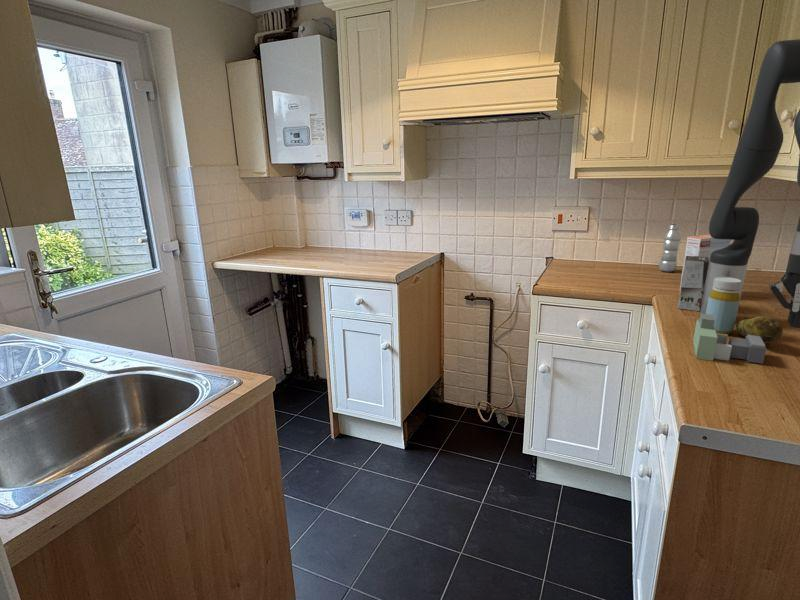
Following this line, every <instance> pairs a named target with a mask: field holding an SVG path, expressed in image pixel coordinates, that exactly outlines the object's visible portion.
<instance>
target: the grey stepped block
mask: <svg viewBox="0 0 800 600" xmlns="http://www.w3.org/2000/svg"><path fill="white" fill-rule="evenodd" d="M727 342H728V343H727V345H731V346H732V348H731V353H730V358H732V359H740V360H746V361H747V362H750V363H756V364H764V361H765V357H766V352H767V347H766V343H765V344H764V342H763V341H762V339H761V337H760V336H754V335H747V336H746V337H745V338H744V339H743V338H737V337H736V338H735V337H729V338H728V341H727Z"/></svg>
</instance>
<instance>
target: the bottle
mask: <svg viewBox="0 0 800 600" xmlns="http://www.w3.org/2000/svg"><path fill="white" fill-rule="evenodd" d="M740 286H741V280H739V279H736V278H730V277H715V279H714V283H713V290H712V291H711V293H710V295H709V299H708V305H707V310H706V314H711V315H713V317H714V320H715V322H714V328H715V331H716V333H719V334H727V335H728V336H729V335H731V334H733V332H734V330H735V329H734V328H735V326H736V325H735V324H736V321H737V317H736V315H737V316H738V312H737V311H739V308H738V306H739V307H740V303H739V301H741V298H740V295H739V291H740ZM735 320H736V321H735Z"/></svg>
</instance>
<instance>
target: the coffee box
mask: <svg viewBox="0 0 800 600" xmlns="http://www.w3.org/2000/svg"><path fill="white" fill-rule="evenodd" d="M708 266H709V259H708V257H700V256H686V259H685V265H684V271H683V277H682V283H681V282H680V283H681V289H680V288H679V290H680V294H679V298H678V303H677V308H678V309H680V310H681V309H682V310H686V311H688V310H689V311H693V312H694V311H696V312H700V311H701V305H702V300H703V292H704V287H705V282H706V276H707V271H708Z"/></svg>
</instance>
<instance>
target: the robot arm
mask: <svg viewBox="0 0 800 600" xmlns="http://www.w3.org/2000/svg"><path fill="white" fill-rule="evenodd" d="M795 83H800V38H799V39H798V38H797V39H786V40H779V41H776V42H774V43H773V44H771V45H770V46H769V48H768V49H767V51H766V53H765V54H764V57H763V59H762V62H761V66H760V69H759V73H758V75H757V79H756V86H755V88H754V94H753V96H752V101H751V105H750V108H749V112H748V114H747V119H746V121H745V125H744V127H743V131H742V133H741V134H740V135H741V136H740V138H739V141H738V142H737V143H738V144H737V146H736V149H735V152H734V156H733V158H732V159H733V160H732V162H731V165H730V169H729V172H728V176H727V178H726V181H725V184H724V186H723V189H722V190H721V191H722V192H721V194H720V196H719V198H718V200H717V202H716V204H715V207H714V209H713V211H712V214H711V217H710V219H709V224H708V233H709V235H710V236H711V237H712V238H715V239H727V240H733V242H732V243H730V245H729V246H727V247H725V248H722V249H719V250H715V251H713V252H712V253H711V256H710V262H709V268H708V273H707V279H706V284H705V290H704V295H703V298H702V303H701V307H700V311H699V312H700V313H699V317H700V316H701V313H703V314H706V310H707V305H708V299H709V295H710V293H711V291H712V290H713V283H714V279H715V277H730V278H736V279H739V280H741V286H740V291H739V295H740V299H741V298H742V297H741V296H742V292H743V288H744V283H745V278H746V274H747V273H746V272H747V267H748V263H749V259H750V258H751V255H752V251H753V248H754V243H755V241H756V240H755V239H756V236H757V233H758V229H759V223H760V215H759V211H758V210H757V209H756V208H755V207H750V206H749V207H745V206H743V207H742V206H737V203H739V200H740V199H741V197H742V196H743V195H744V194H746V192H747V191H748V190H749V189H751V188H752V187H753V186H754V185H755V184H756V183H758V181H760V180H761V179H762V178H763V177H764V176H766V174H768V173H769V172H770V171H771V169H773V167H774V165H775V163H776V161H777V159H778V156H779V153H780V151H781V149H782V147H783V143H784V131H783V127H782V124H781V122H780V120H779V117H778V113H777V110H776V109H777V108H776V101H777V96H778V92H779V90H780V87H781V84H795ZM793 130H794V136H795V139H796V143H797V146H798V149H799V151H800V108H799V109H798V111H797V113H796V116H795V117H794V123H793ZM798 157H799V158H798V167H797V175H796V177H797V178H796V180H797V181H796V182H797V184H798V186H799V187H800V154H799V156H798ZM798 217H799V218H798V222H797V227H796V231H795V235H794V236H793V239H792V243H791V247H790V252H789V255H788V260H787V261H788V262H787V266H786V270H785V273H784V275H783V276H782V277H781V279H780V281H777V282H776V283H771V284H768V288H769V290H770V291H771V292H772V294H773V296H775V299H776V300H777V301H778V302H779V304H780V305H781V306H782V308H784V309H787V310H789V312H788V318H787V323H788V324H789V325H790V327H791V328H794V329H800V216H798ZM783 287H784V288H785V290H786V291H787V293H788V294H789V295H790V302H788V300H787V299H786V298H785V296H784V295H783V294H782V292H783V290H784V288H783ZM740 301H741V300H740ZM740 301H739V304H740ZM739 307H740V305H739V306H738V309H739ZM738 311H739V310H738ZM738 311H737V313H738ZM737 316H738V314H737V315H736V318H737ZM736 321H737V319H736V320H735V322H736Z"/></svg>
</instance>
